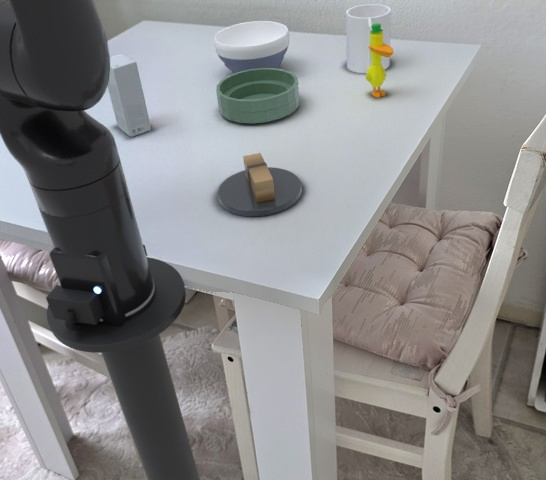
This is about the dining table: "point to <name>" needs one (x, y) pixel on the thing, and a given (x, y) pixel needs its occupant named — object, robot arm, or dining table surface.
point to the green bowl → (258, 95)
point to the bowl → (252, 45)
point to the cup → (365, 35)
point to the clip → (259, 177)
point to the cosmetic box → (127, 96)
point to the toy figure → (377, 59)
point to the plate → (243, 202)
